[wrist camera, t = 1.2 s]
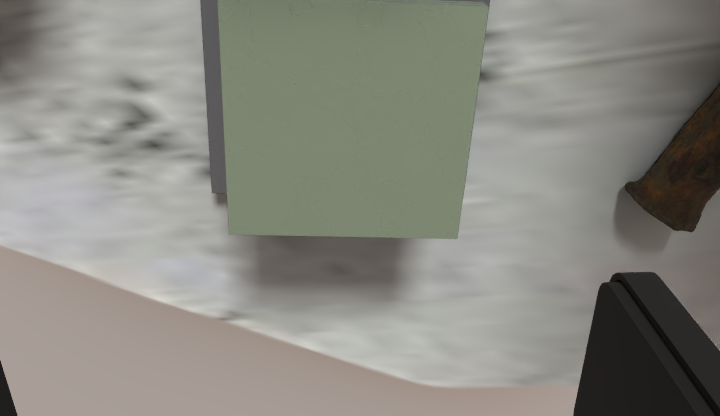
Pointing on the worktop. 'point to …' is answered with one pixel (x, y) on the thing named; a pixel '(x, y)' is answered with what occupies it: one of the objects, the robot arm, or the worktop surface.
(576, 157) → the worktop surface
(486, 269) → the worktop surface
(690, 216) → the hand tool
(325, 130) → the stand
